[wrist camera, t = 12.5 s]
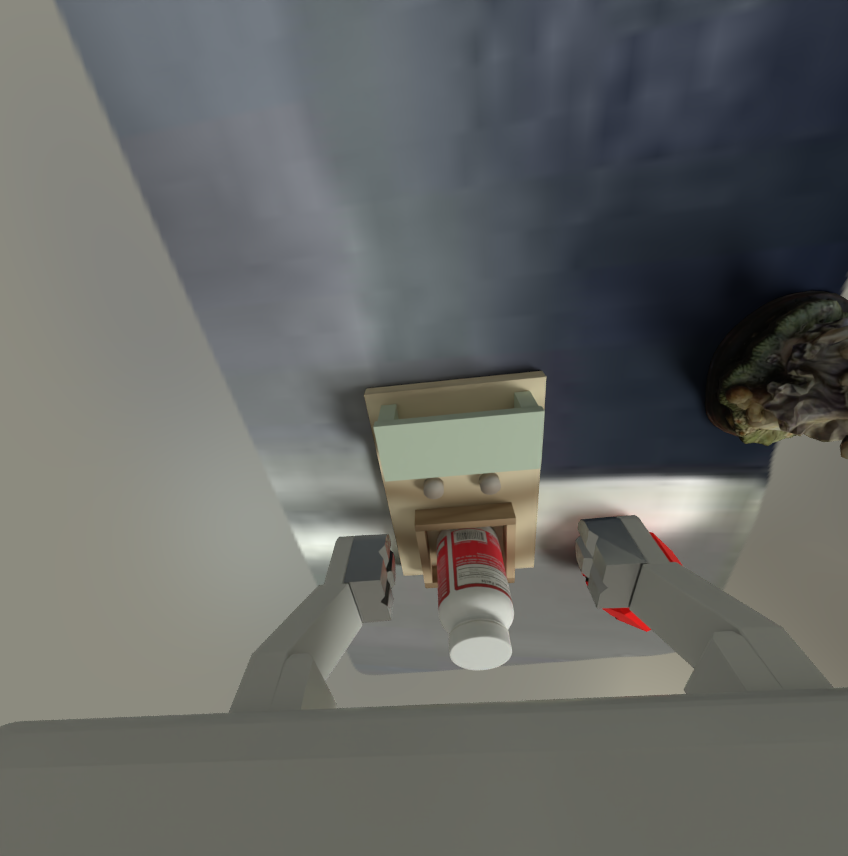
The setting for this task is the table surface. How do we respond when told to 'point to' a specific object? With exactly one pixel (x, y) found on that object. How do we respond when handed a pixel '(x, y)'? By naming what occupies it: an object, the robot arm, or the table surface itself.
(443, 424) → the housing cover
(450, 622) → the pill bottle
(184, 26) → the table surface
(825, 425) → the figurine
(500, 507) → the base
